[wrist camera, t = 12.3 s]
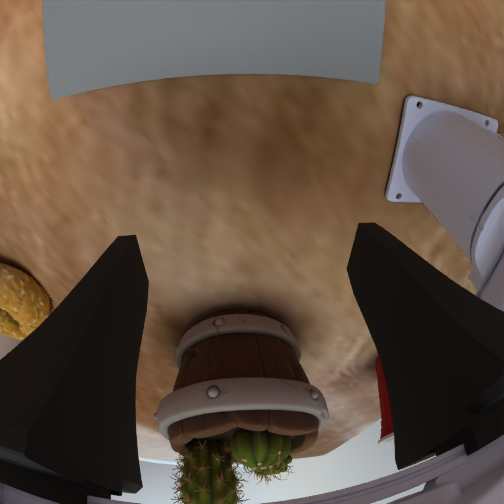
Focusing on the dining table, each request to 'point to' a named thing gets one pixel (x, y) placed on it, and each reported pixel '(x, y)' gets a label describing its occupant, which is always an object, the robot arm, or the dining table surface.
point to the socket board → (208, 40)
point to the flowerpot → (237, 404)
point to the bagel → (21, 303)
